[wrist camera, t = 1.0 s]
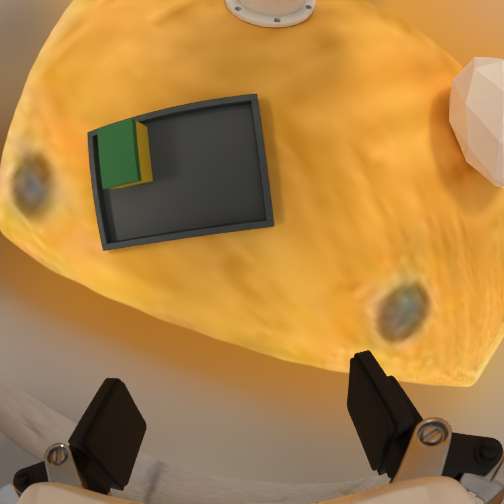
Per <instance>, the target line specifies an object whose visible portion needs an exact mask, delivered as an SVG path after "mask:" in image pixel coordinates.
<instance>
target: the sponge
mask: <svg viewBox="0 0 504 504" xmlns="http://www.w3.org/2000/svg"><path fill="white" fill-rule="evenodd" d="M97 134H98V150H99V162H100V171H101V180H102V188H103V189H114V188H124V187H128V186H132V185H137V184H141V183H146V182H151V181H153V177H152V169H151V160H150V151H149V141H148V130H147V126H145V125H143V124H141V123H139V122H137V121H136V120H134V119H132V118H131V119H128V120H125V121H121V122H118V123H115V124H112V125H109V126H106V127H103V128H100V129H98V130H97Z"/></svg>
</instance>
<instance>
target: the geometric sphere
mask: <svg viewBox="0 0 504 504" xmlns="http://www.w3.org/2000/svg"><path fill="white" fill-rule="evenodd" d="M449 122H450V124H451V127H452V129H453V131H454V133H455V135H456V138H457V140H458V143H459V145H460V147H461V150H462V152H463V155H464V158H465V160H466V162H467V163H468V164H470V165H471V166H472V167H473V168H475V169H476V170H477V171H478V172H480V173H481V174H482V175H483V176H484V177H485V178H487V179H488V180H489V181H490V182H491V183H492V184H493V185H495V186H497V187H502V188H504V59H498V58H486V57H474V58H473V59H472V61H470V62H469V63H468V65H467V66H466V67H465V68H464V69H463V70H462V71H461V72H460V73H459V74H458V75H457V76H456V77H455V78H454V79H453V80H452V85H451V93H450V101H449Z"/></svg>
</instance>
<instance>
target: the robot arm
mask: <svg viewBox="0 0 504 504" xmlns="http://www.w3.org/2000/svg"><path fill="white" fill-rule="evenodd" d="M225 2H226V5H227V7H228V9H229V10H230V11H231V12H232V14H234V15H235V16H236V17H238V18H239V19H241V20H243V21H245V22H248V23H251V24H253V25H258V26H262V27H288V26H292V25H296V24H298V23H301V22H303V21H304V20H306V19H307V18H308V17H309V16H310V15H311V14H312V12H313V10H314V8H315V4H316V0H225ZM347 407H348V411H349V414H350V416H351V419H352V421H353V423H354V426H355V428H356V431H357V433H358V436H359V438H360V440H361V443H362V445H363V448H364V450H365V453H366V455H367V458H368V461H369V463H370V466H371V468H372V470H374V471H375V470H377V472H378V474H379V475H382V474H384V473H387V475H388V477H389V478H391V480H390V482H389V484H387V485H383V486H380V487H377V488H373V489H370V490H366V491H362V492H359V493H355V494H352V495H348V496H344V497H340V498H335V499H331V500H326V501H321V502H316V503H311V504H476V503H475V501H474V500H473V498H472V497H471V495H470V494H469V493H468V491H471V492H473V493H475V494H476V497H478V498H480V499H481V500H483V501H484V504H504V451H503V448H502V445H501V443H500V442H499V441H498V440H496V439H494V438H489V437H481V436H473V435H465V434H459V433H453V432H452V429H451V426H450V425H449V423H448V422H447V421H445V420H443V419H441V418H428V419H425V420H423V419H422V417H421V416H420V414H419V413H418V411H417V410H416V408H415V407H414V405H413V404H412V402H411V401H410V399H409V398H408V396H407V395H406V393H405V392H404V390H403V389H402V388H401V386H400V385H399V383H398V382H397V380H396V379H395V378H394V377H393V376H388V377H387V376H386V374H385V373H384V371H383V370H382V368H381V367H380V365H379V364H378V362H377V361H376V359H375V358H374V356H373V355H372V353H371V352H370V351H369V350H367V351H364V352H360V353H356V354H355V355H354V358H351V359H350V373H349V387H348V398H347ZM145 431H146V422H145V420H144V419H143V417H142V415H141V414H140V412H139V410H138V408H137V407H136V405H135V403H134V401H133V399H132V397H131V395H130V393H129V392H128V390H127V388H126V386H125V384H124V383H123V382H121V380H120V379H117V378H106V379H105V381H104V382H103V384H102V385H101V387H100V388H99V390H98V392H97V393H96V395H95V396H94V398H93V400H92V402H91V403H90V405H89V407H88V408H87V410H86V411H85V413H84V415H83V416H82V418H81V420H80V421H79V423H78V425H77V426H76V428H75V430H74V432H73V433H72V435H71V437H70V439H69V440H68V442H69V443H70V445H69V447H68V446H67V445H65V444H63V443H57V444H54V445H51V446H50V447H49V448H48V449H47V450H46V452H45V454H44V461H43V462H40V463H37V464H35V465H32V466H29V467H26V468H23V469H21V470H19V471H18V472H17V473H16V474H15V476H14V479H13V482H14V484H13V483H12V482H10V483H8V484H7V485H5V486H4V487H2V488H1V489H0V504H143V503H138V502H133V501H128V500H124V499H120V498H116V497H113V496H112V494H111V492H110V489H111V488H113V489H117V490H121V491H123V489H124V486H126V485H127V484H128V482H129V479H130V476H131V473H132V469H133V466H134V463H135V460H136V457H137V454H138V452H139V449H140V446H141V443H142V440H143V437H144V434H145Z"/></svg>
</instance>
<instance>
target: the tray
mask: <svg viewBox="0 0 504 504" xmlns="http://www.w3.org/2000/svg"><path fill="white" fill-rule="evenodd" d="M129 119H131V118H129ZM132 119H134V120H136V121H137V122H139V123H141V124H143V125H145V126H147V130H148V141H149V151H150V160H151V169H152V177H153V181H151V182H146V183H141V184H137V185H132V186H128V187H124V188H114V189H103V188H102V180H101V171H100V162H99V150H98V134H97V130H98V129H100V128H98V129H95V130H93V131H90V132H88V149H89V162H90V172H91V181H92V189H93V197H94V204H95V210H96V216H97V222H98V227H99V233H100V238H101V242H102V247H103V251H105V250H111V249H117V248H124V247H130V246H136V245H143V244H150V243H156V242H163V241H170V240H176V239H183V238H190V237H197V236H205V235H212V234H219V233H227V232H234V231H242V230H250V229H258V228H266V227H274V220H273V211H272V202H271V194H270V186H269V177H268V170H267V162H266V154H265V147H264V139H263V132H262V125H261V118H260V111H259V104H258V97H257V94H250V95H241V96H233V97H225V98H219V99H212V100H206V101H201V102H195V103H190V104H185V105H180V106H176V107H171V108H167V109H162V110H158V111H154V112H150V113H147V114H143V115H139V116H136V117H132ZM126 120H128V119H126ZM122 121H125V120H122ZM119 122H121V121H119ZM116 123H118V122H116ZM113 124H115V123H113ZM110 125H112V124H110ZM107 126H109V125H107ZM104 127H106V126H104ZM101 128H103V127H101Z"/></svg>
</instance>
